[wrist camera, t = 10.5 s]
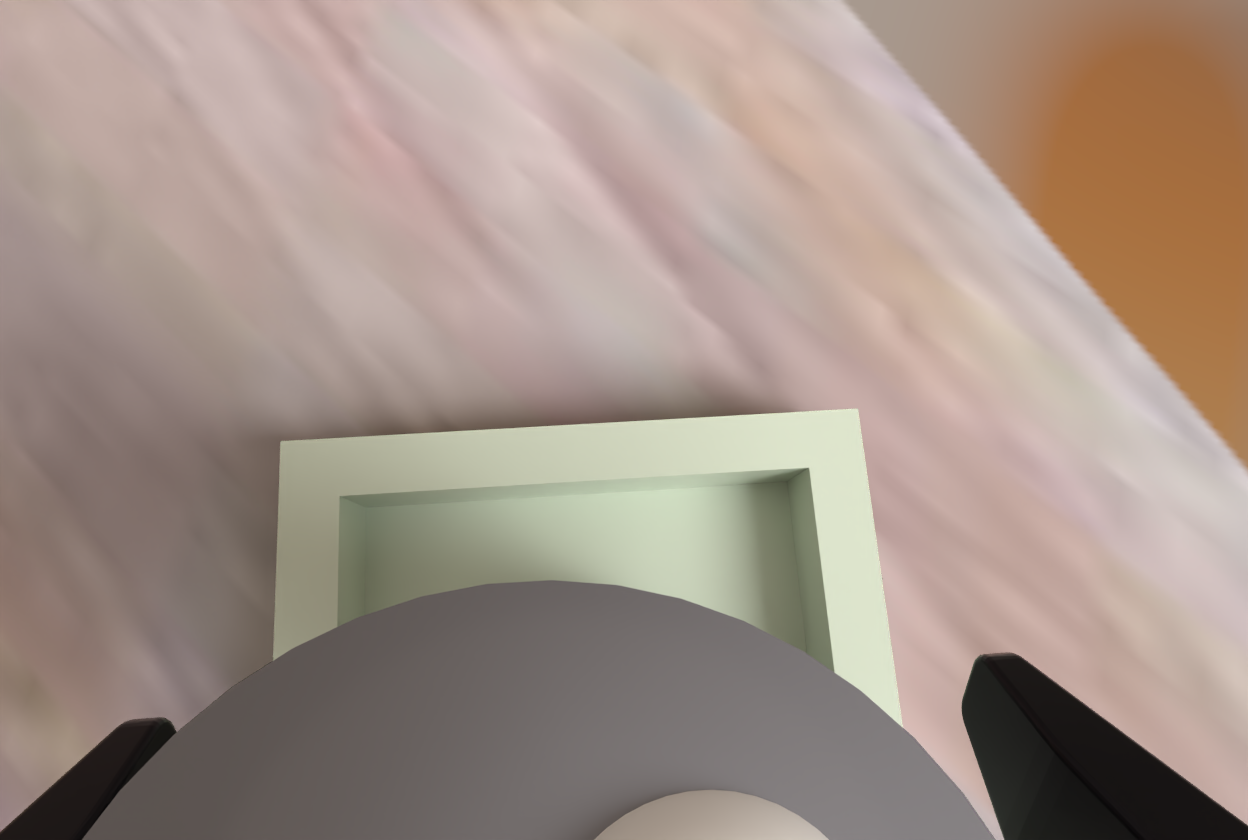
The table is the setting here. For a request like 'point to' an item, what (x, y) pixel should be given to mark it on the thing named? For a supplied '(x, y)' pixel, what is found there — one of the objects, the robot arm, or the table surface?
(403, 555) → the sage dish
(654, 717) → the grey can
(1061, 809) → the robot arm
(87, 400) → the table surface
